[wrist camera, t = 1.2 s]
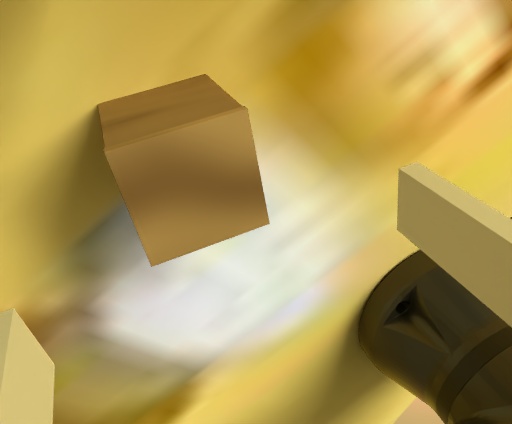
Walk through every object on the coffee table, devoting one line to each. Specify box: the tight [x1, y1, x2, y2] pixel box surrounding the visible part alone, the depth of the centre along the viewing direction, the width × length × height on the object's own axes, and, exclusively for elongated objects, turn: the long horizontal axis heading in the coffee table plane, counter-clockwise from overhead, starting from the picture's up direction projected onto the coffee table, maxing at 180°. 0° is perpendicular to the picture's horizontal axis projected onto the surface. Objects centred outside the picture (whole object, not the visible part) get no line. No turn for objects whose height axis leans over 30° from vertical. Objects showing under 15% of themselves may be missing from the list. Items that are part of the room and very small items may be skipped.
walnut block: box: [98, 74, 270, 267], centre depth 22 cm, size 6×6×7 cm
